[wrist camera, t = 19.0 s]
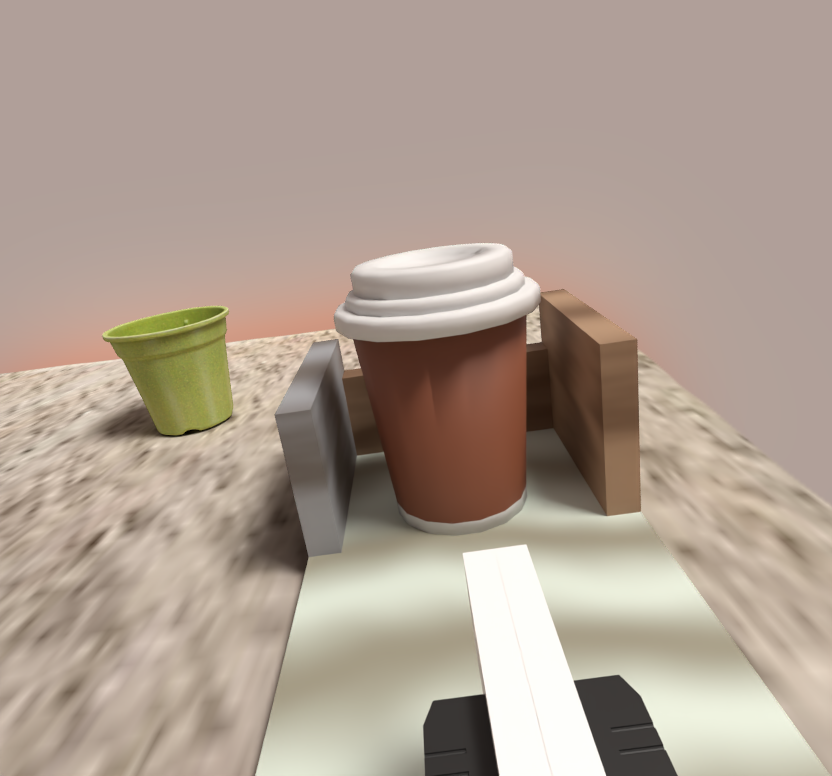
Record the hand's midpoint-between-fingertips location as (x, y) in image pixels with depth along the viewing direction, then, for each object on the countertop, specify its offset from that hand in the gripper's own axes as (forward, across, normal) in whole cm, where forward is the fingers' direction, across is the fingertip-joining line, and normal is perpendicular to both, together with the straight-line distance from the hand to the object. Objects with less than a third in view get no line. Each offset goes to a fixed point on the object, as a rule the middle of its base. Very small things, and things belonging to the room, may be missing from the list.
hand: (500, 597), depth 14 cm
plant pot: (+35, -20, -7) cm, 41 cm away
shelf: (+11, 0, -7) cm, 12 cm away
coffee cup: (+15, 0, -6) cm, 16 cm away
